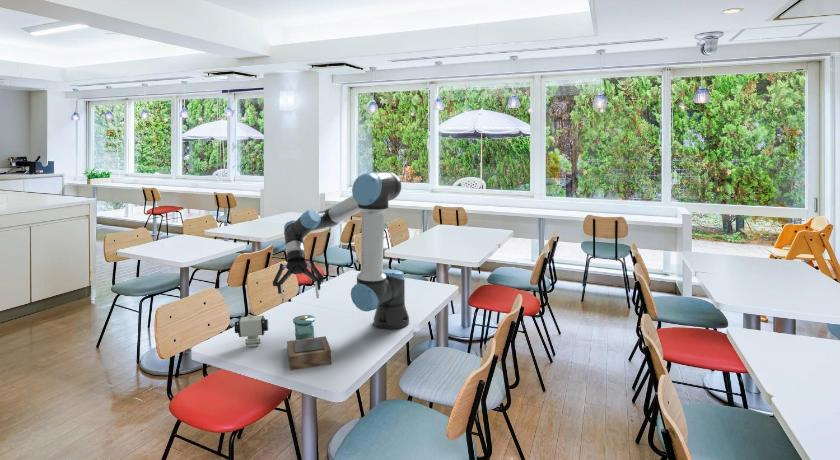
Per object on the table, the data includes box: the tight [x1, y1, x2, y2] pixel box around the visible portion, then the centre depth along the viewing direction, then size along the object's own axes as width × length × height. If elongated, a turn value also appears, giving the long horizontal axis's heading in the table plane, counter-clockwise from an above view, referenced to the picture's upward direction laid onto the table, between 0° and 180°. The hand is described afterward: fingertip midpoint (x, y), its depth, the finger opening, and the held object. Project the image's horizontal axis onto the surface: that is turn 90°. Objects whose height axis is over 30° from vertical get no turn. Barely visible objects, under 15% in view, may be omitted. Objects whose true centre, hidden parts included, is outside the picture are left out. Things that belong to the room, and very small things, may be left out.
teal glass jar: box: [292, 314, 316, 340], centre depth 190 cm, size 8×8×11 cm
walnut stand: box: [286, 335, 333, 371], centre depth 176 cm, size 14×14×5 cm
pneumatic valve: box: [233, 314, 269, 348], centre depth 189 cm, size 6×12×12 cm, turn 101°
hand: (300, 298), depth 198 cm, fingers open, 13 cm apart
